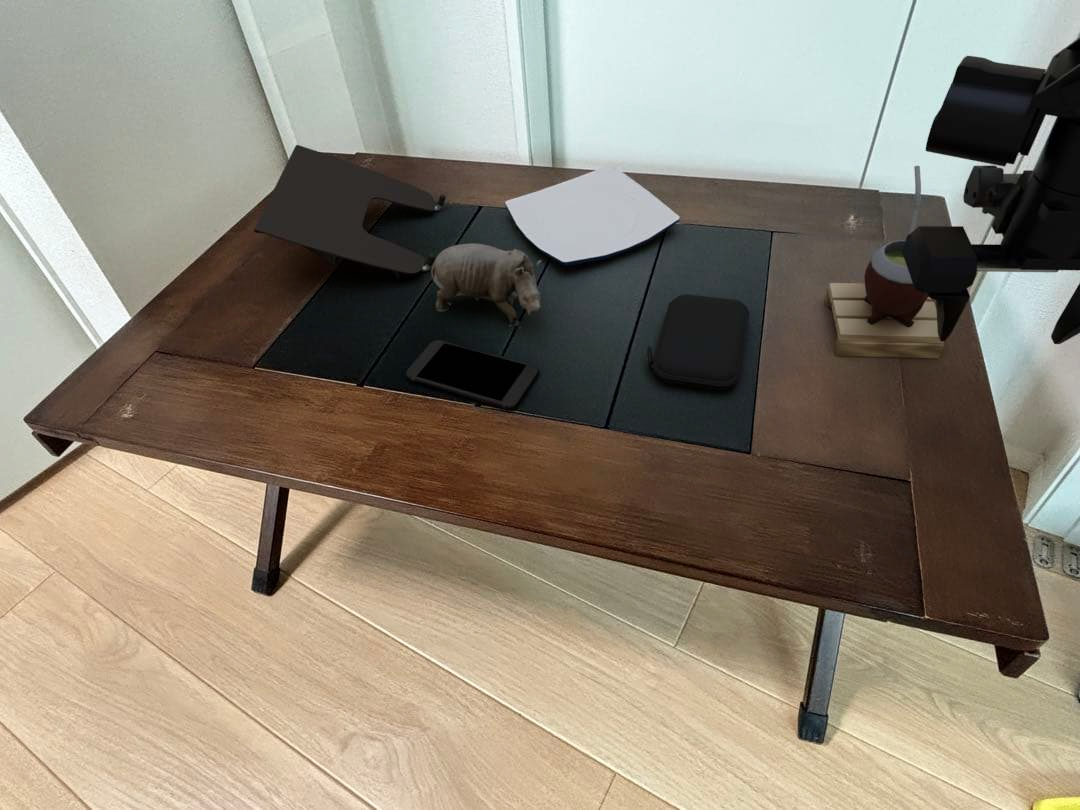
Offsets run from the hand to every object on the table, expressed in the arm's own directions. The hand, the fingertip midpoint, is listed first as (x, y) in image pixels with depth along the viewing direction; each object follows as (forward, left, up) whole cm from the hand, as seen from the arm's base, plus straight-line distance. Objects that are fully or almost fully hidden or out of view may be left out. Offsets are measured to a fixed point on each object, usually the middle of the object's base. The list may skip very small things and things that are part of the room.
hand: (997, 339), depth 63 cm
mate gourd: (+4, -16, -10) cm, 20 cm away
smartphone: (+51, -6, -13) cm, 53 cm away
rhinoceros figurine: (+50, -18, -13) cm, 55 cm away
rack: (+4, -17, -13) cm, 21 cm away
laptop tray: (+72, -33, -13) cm, 80 cm away
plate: (+40, -38, -13) cm, 57 cm away
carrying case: (+25, -12, -13) cm, 31 cm away
